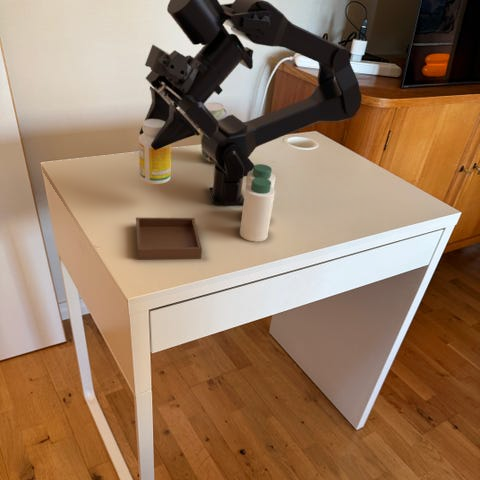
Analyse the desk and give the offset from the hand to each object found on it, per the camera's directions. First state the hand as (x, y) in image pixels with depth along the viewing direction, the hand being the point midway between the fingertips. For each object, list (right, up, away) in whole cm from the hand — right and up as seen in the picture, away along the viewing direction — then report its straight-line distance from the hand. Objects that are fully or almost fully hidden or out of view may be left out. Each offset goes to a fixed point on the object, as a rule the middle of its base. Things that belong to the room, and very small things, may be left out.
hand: (146, 141), depth 76 cm
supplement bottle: (0, -5, +5) cm, 7 cm away
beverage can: (+9, +7, +29) cm, 31 cm away
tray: (+3, -17, 0) cm, 17 cm away
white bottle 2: (+18, -15, +5) cm, 24 cm away
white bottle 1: (+18, -11, +10) cm, 24 cm away
